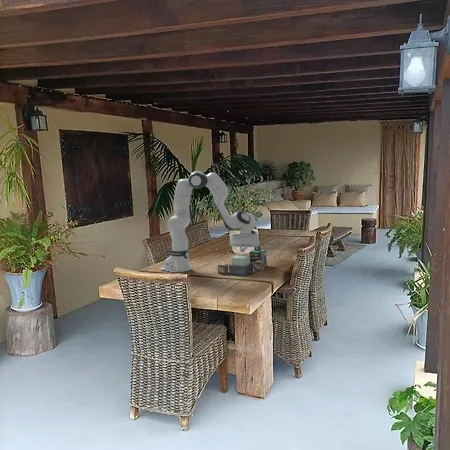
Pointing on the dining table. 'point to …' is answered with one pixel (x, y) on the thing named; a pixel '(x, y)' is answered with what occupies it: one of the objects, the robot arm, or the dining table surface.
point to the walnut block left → (223, 269)
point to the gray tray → (241, 269)
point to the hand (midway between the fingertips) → (242, 251)
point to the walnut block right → (258, 265)
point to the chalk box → (258, 256)
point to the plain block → (240, 260)
